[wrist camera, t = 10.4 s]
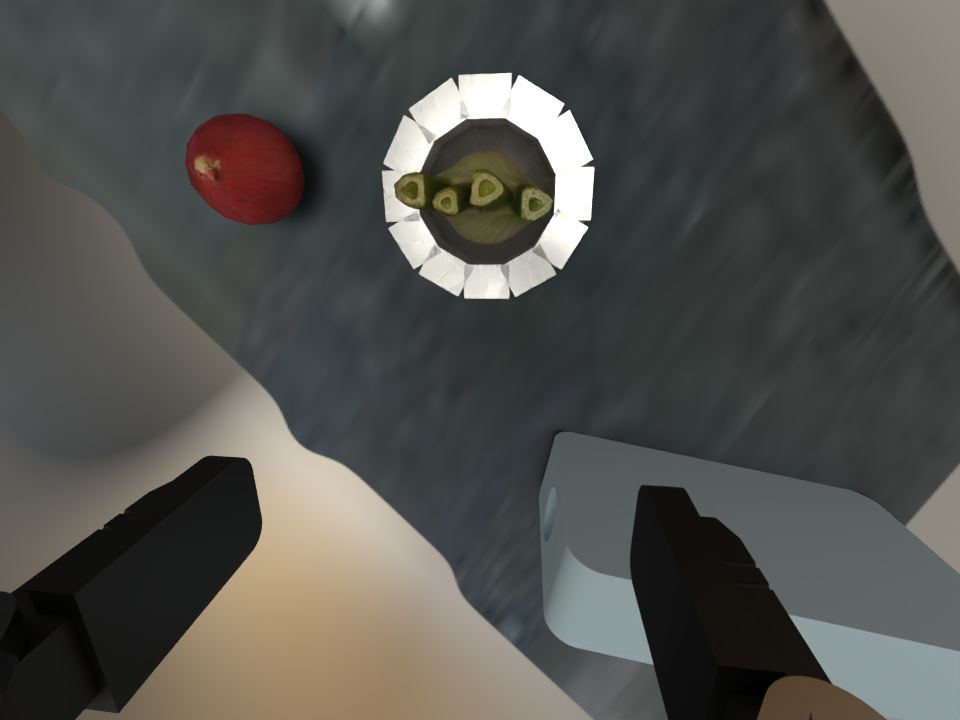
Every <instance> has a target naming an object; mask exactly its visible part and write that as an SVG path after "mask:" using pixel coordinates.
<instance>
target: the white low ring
mask: <svg viewBox="0 0 960 720" xmlns="http://www.w3.org/2000/svg"><path fill="white" fill-rule="evenodd" d="M563 106H564V103H562V102H561V101H559V100H557V99H556V98H554V97H553V96H551V95H550V94H548V93H546V92H545V91H543V90H542V89H540V88H539V87H537V86H535V85H534V84H532V83H531V82H529V81H528V80H526V79H524V78H523V77H521V76H520V75H519V76H518V78H517V80H516V82H515V84H513V81H512V73H500V74H475V75H459V88H458V87H457V86H456V84H455V82H454V81H453V79H452V78H451V79H449V80H448V81H446V82H445V83H444V84H442V85H441V86H440V87H438V88H437V89H435V90H434V91H433V92H431V93H430V94H429V95H427V96H426V97H425V98H423V99H422V100H420V101H419V102H418V103H416V104H415V105H414V106H412V107H411V108H409V110H410V112H411V114H412V116H413V117H414V119H415V121H413V120H411V119H410V118H408V117H406V116H405V115H404V116H403V119H402V121H401V123H400V126H399V128H398V130H397V133H396V135H395V137H394V140H393V142H392V144H391V147H390V149H389V151H388V154H387V156H386V158H385V160H384V163H383V164H385V165H387V166H388V167H390V168H392V169H393V170H394V171H382V177H383V189H384V202H385V214H386V222H398V223H396V224H395V225H393V226H392V227H390V228H388V229H389V230H390V232H391V234H392V235H393V237H394V238H395V240H396V242H397V243H398V245H399V246H400V248H401V250H402V251H403V253H404V254H405V256H406V258H407V259H408V261H409V262H410V264H411V266H412V267H413V269H415V268H417V267H418V266H420V265H421V264H423V266H422V268H421V270H420V272H419V274H420V275H421V276H423V277H425V278H427V279H428V280H430V281H432V282H433V283H435V284H437V285H439V286H440V287H442V288H444V289H446V290H447V291H449V292H451V293H453V294H454V295H456V296H459V294H460V293H461V292H462V290H463V289H464V298H482V299H509V297H510V291H512V292H513V294H514V295H515V297H517V296H518V295H520V294H522V293H524V292H526V291H527V290H529V289H531V288H533V287H535V286H536V285H538V284H540V283H542V282H544V281H545V280H547V279H549V278H551V277H553V276H555V275H556V272H555V270H554V268H555V267H558V268H559V269H561V270H562V268H563V266H564V265H565V263H566V262H567V260H568V258H569V257H570V255H571V254H572V252H573V251H574V249H575V247H576V246H577V244H578V243H579V241H580V239H581V238H582V236H583V235H584V233H585V232H586V230H587V228H588V227H587V226H585V225H584V222H585V220H591V207H592V193H593V178H594V167H588V162H589V161H591V160H592V159H593V158H592V156H591V154H590V152H589V150H588V148H587V146H586V143H585V141H584V139H583V137H582V135H581V133H580V131H579V129H578V127H577V124H576V122H575V120H574V118H573V116H572V114H571V112H570V110H569V111H567V112H566V113H564V114H563V113H562V112H561V111H562V108H563ZM485 151H486V152H495V153H500V154H501V155H504V156H506V157H507V158H509V159H511V160H512V161H514V162H515V163H516V164H517V165H518V166H519V168H520V169H521V171H523V173H524V174H525V175H526V176H527V177H528V178H529V179H530V180H531V181H532V182H533V183H535V184H536V185H537V186H538V187H540V188H541V189H542V190H543V191H545V192H547V194H548V195H550V197H551V198H553V200H554V203H553V207H552V208H551V210H550V212H548V213H547V214H546V215H545V216H544V217H542V218H540V219H538V220H537V221H532V222H531V223H529V224H528V225H527V226H526V227H524V228H523V229H522V230H520V231H519V232H518V233H517V234H516V235H515V236H513V237H512V238H510V239H507V240H505V241H503V242H500V243H497V244H486V245H482V244H477V243H474V242H472V241H469V240H467V239H465V238H464V237H462V236H461V235H459V234H458V233H457V232H456V230H455V229H454V228H453V226H452V225H451V224H450V222H449V221H448V220H447V219H446V218H445V217H444V216H443V215H442V214H441V213H439V212H438V211H427V210H417V209H413V208H411V207H408V206H406V205H404V204H403V203H402V202H400V201H399V200H398V199H397V198H396V195H395V188H394V184H395V183H396V182H397V181H398V180H399V179H400V178H401V177H402V176H403V175H405V174H407V173H412V172H422V173H426V174H428V175H433V176H437V175H438V174H439V173H441V172H444V171H445V170H447V169H449V168H450V167H452V166H454V165H455V164H456V163H457V162H458V161H459V160H460V159H461V158H462V157H464V156H467V155H469V154H471V153H475V152H485Z"/></svg>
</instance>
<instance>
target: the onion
mask: <svg viewBox="0 0 960 720" xmlns="http://www.w3.org/2000/svg"><path fill="white" fill-rule="evenodd" d="M185 165H186V168H187V171H188V175H189V178H190V182H191V185H192V186H193V187H194V188H195V190H196V191H197V192H198V193H199V194H200V195H201V197H202V198H203V199H204V200H205V202H206V203H207V204H208V205H209V206H210V207H212V208H213V209H214V210H216V211H217V212H218V213H220V214H221V215H222V216H224V217H225V218H228V219H231V220H234V221H238V222H241V223H244V224H247V225H258V224H268V223H274V222H276V221H278V220H280V219H282V218H284V217H285V216H287V215H289V214H290V213H292V212H293V210H294V209H295V207H296V206H297V204H298V203H299V201H300V200H301V198H302V192H303V187H304V181H305V179H304V174H303V169H302V164H301V160H300V158H299V156H298V154H297V152H296V150H295V148H294V146H293V144H292V142H291V141H290V140H289V139H288V138H287V137H286V136H285V135H284V134H283V133H282V132H281V131H280V130H279V129H278V128H276V127H275V126H274V125H273V124H271V123H270V122H268V121H265V120H263V119H260V118H257V117H254V116H251V115H249V114H241V113H239V114H227V115H219V116H216V117H213V118H211V119H210V120H208V121H207V122H205V123H203V124H202V125H200V126H199V127H198V128H197V129H196V130H195V132H194V134H193V135H192V137H191V138H190V140H189V142H188V143H187V151H186V160H185Z"/></svg>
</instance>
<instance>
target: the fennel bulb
mask: <svg viewBox="0 0 960 720" xmlns="http://www.w3.org/2000/svg"><path fill="white" fill-rule="evenodd" d="M394 188H395V195H396V198H397V199H398V200H399V201H400V202H402V203H403V204H404V205H406V206H408V207H411V208H413V209H417V210H427V211H438V212H439V213H441V214H442V215H443V216H444V217H445V218H446V219H447V220H448V221H449V222H450V224H451V225H452V226H453V228H454V229H455V230H456V232H457V233H458V234H459V235H461V236H462V237H464V238H465V239H467V240H469V241H472V242H474V243H477V244H482V245H486V244H497V243H500V242H503V241H505V240H507V239H510V238H512V237H513V236H515V235H516V234H517V233H518V232H519V231H520V230H522V229H523V228H524V227H526V226H527V225H528V224H529V223H531V222H532V221H537V220H538V219H540V218H542V217H544V216H545V215H546V214H547V213H548V212H550V210H551V208H552V207H553V203H554V200H553V198H551V197H550V195H548V194H547V192H545V191H543V190H542V189H541V188H540V187H538V186H537V185H536V184H535V183H533V182H532V181H531V180H530V179H529V178H528V177H527V176H526V175H525V174H524V173H523V171H521V169H520V168H519V166H518V165H517V164H516V163H515V162H514V161H512V160H511V159H509V158H507V157H506V156H504V155H501V154H500V153H495V152H486V151H485V152H475V153H471V154H469V155H467V156H464V157H462V158H461V159H460V160H459V161H458V162H457V163H456V164H455V165H454V166H452V167H450V168H449V169H447V170H445V171H444V172H441V173H439V174H438V175H437V176H433V175H428V174H426V173H422V172H412V173H407V174H405V175H403V176H402V177H401V178H400V179H399V180H398V181H397V182H396V183H395V184H394Z"/></svg>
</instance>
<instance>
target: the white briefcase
mask: <svg viewBox="0 0 960 720" xmlns="http://www.w3.org/2000/svg"><path fill="white" fill-rule="evenodd" d="M641 485H654V486H669V487H682V488H684V489H685V490H686V491H687V493H688V495H689V497H690V498H691V500H692V502H693V504H694V506H695V508H696V509H697V511H698V513H699V515H700V516H702V517H716V518H717V519H718V520H719V521H720V522H722V523H723V524H724V525H725V526H726V527H727V528H729V529H730V530H731V531H732V532H733V533H735V534H736V535H737V536H738V537H739V538H740V539H741V540H742V542H743V543H744V545H745V547H746V548H747V550H748V551H749V553H750V554H751V556H752V558H753V559H754V561H755V562H756V568H759V569H760V570H761V572H762V573H763V575H764V577H765V578H766V580H767V581H768V583H769V588H770V589H771V590H773V591H774V592H775V594H776V596H777V597H778V599H779V600H780V602H781V604H782V605H783V607H784V608H785V610H786V611H787V613H788V615H789V616H790V618H791V619H792V621H793V623H794V624H795V626H796V627H797V629H798V630H799V632H800V634H801V635H802V637H803V638H804V640H805V642H806V643H807V645H808V646H809V648H810V649H811V651H812V653H813V654H814V656H815V657H816V659H817V661H818V662H819V664H820V665H821V667H822V668H823V670H824V672H825V673H826V675H827V676H828V678H829V680H830V681H831V682H832V684H833V685H836V686H838V687H840V688H842V689H844V690H846V691H847V692H849V693H851V694H853V695H854V696H856V697H857V698H859V699H861V700H862V701H864V702H865V703H866V704H868V705H869V706H870V707H872V708H873V709H875V710H876V711H877V712H878V713H879V714H880V715H882V716H886V717H891V718H895V719H899V720H960V574H959V573H958V572H957V571H955V570H954V569H953V568H952V567H951V566H950V565H948V564H947V563H946V562H945V561H944V560H943V559H942V558H940V557H939V556H938V555H937V554H936V553H935V552H934V551H932V550H931V549H930V548H929V547H928V546H927V545H925V544H924V543H923V542H922V541H921V540H920V539H918V538H917V537H916V536H915V535H914V534H913V533H912V532H910V531H909V530H908V529H907V528H906V527H905V526H904V525H902V524H901V523H900V522H899V521H898V520H897V519H896V518H894V517H893V516H892V515H891V514H890V513H889V512H888V511H886V510H885V509H884V508H883V507H882V506H880V505H879V504H878V503H876V502H875V501H873V500H871V499H869V498H868V497H866V496H864V495H861V494H859V493H857V492H854V491H851V490H847V489H843V488H838V487H833V486H828V485H823V484H819V483H814V482H809V481H804V480H799V479H795V478H790V477H785V476H780V475H775V474H770V473H766V472H761V471H756V470H751V469H746V468H742V467H737V466H732V465H727V464H722V463H718V462H713V461H708V460H703V459H698V458H693V457H689V456H684V455H679V454H674V453H669V452H665V451H660V450H655V449H650V448H645V447H640V446H636V445H631V444H626V443H621V442H616V441H612V440H607V439H602V438H597V437H592V436H588V435H583V434H578V433H573V432H561V433H558V434H557V435H556V436H555V438H554V442H553V446H552V449H551V453H550V457H549V460H548V464H547V467H546V471H545V475H544V478H543V482H542V485H541V489H540V493H539V508H540V532H541V557H542V581H543V605H544V617H545V620H546V623H547V625H548V627H549V628H550V630H551V631H552V632H553V633H554V635H555V636H556V637H558V638H559V639H560V640H561V641H563V642H564V643H566V644H568V645H570V646H573V647H576V648H580V649H585V650H589V651H594V652H598V653H603V654H607V655H612V656H616V657H621V658H625V659H630V660H634V661H639V662H643V663H648V664H652V665H654V664H653V660H652V657H651V653H650V649H649V645H648V642H647V638H646V634H645V630H644V626H643V623H642V619H641V615H640V611H639V608H638V604H637V600H636V596H635V593H634V589H633V585H632V579H631V571H630V549H631V541H632V534H633V526H634V519H635V511H636V504H637V497H638V491H639V488H640V486H641Z"/></svg>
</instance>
